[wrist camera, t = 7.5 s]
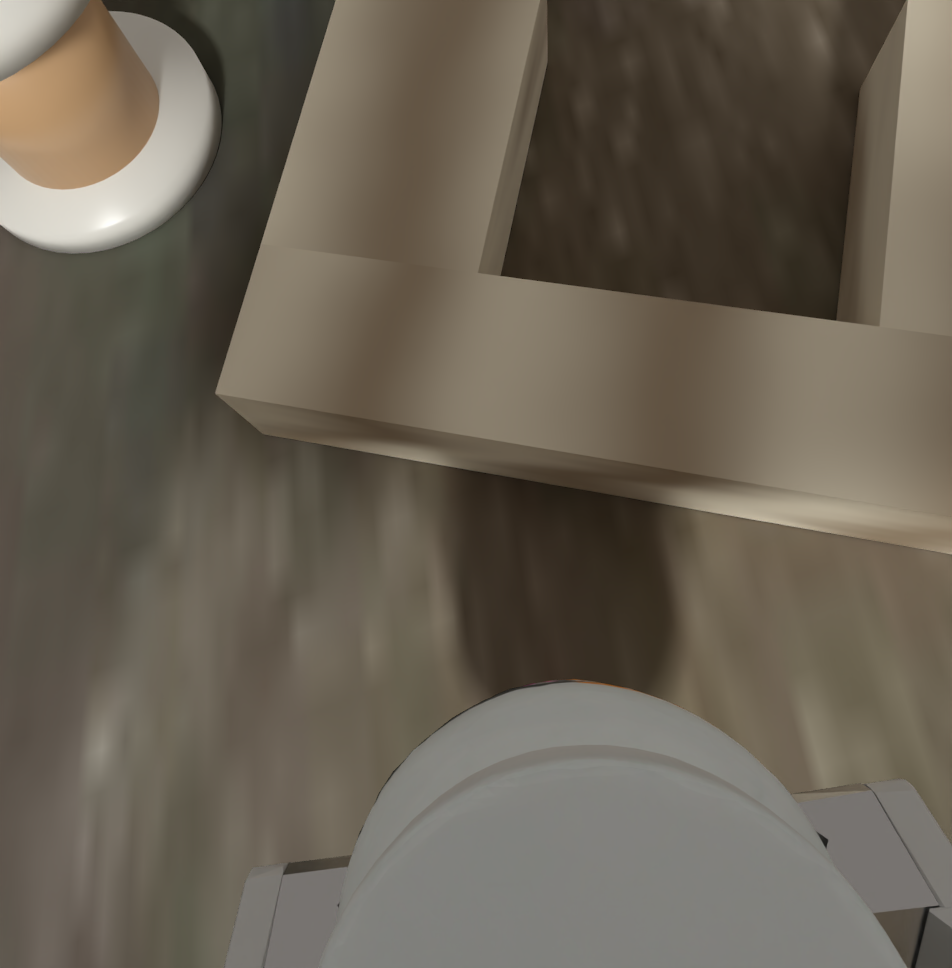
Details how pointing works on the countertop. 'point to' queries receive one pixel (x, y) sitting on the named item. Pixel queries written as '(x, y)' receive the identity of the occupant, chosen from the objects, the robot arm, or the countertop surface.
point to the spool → (98, 124)
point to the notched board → (594, 297)
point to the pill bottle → (593, 848)
